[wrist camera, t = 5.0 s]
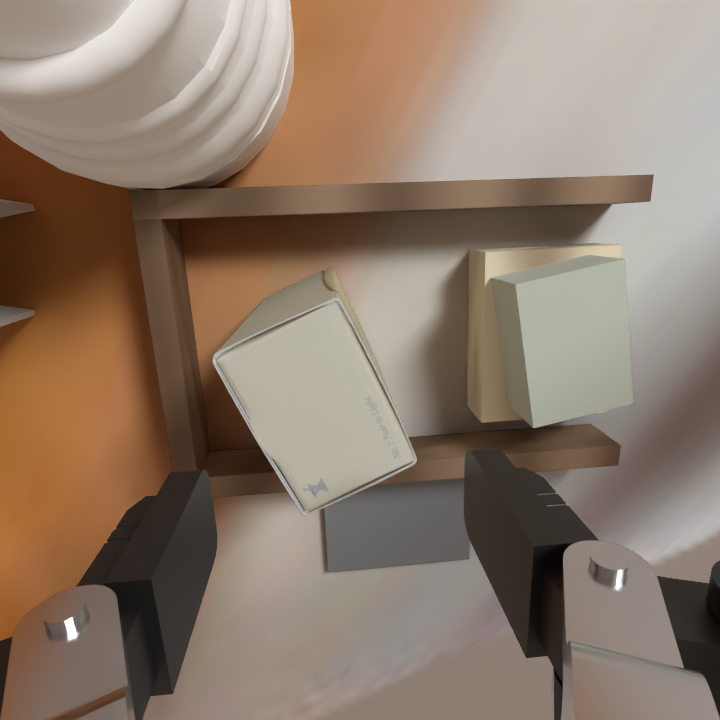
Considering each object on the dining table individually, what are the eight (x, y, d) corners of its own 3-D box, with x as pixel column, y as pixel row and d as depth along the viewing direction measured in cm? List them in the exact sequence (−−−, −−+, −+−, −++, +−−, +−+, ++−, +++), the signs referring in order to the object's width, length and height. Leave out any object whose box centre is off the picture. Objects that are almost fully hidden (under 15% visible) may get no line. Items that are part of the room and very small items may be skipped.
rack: (615, 180, 26) (653, 174, 23) (588, 441, 30) (618, 465, 27) (150, 195, 24) (128, 190, 21) (191, 472, 28) (177, 500, 25)
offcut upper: (587, 254, 24) (625, 258, 21) (598, 384, 26) (633, 403, 23) (491, 277, 24) (515, 284, 21) (508, 405, 26) (533, 428, 23)
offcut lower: (589, 242, 27) (622, 244, 24) (576, 394, 29) (605, 412, 27) (466, 249, 26) (485, 252, 24) (464, 403, 29) (481, 422, 26)
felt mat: (469, 457, 29) (471, 460, 29) (467, 555, 31) (469, 559, 31) (321, 468, 29) (321, 471, 28) (327, 568, 31) (328, 572, 30)
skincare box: (379, 363, 27) (428, 467, 16) (308, 397, 27) (304, 525, 16) (330, 261, 25) (344, 291, 14) (255, 297, 26) (205, 358, 14)
